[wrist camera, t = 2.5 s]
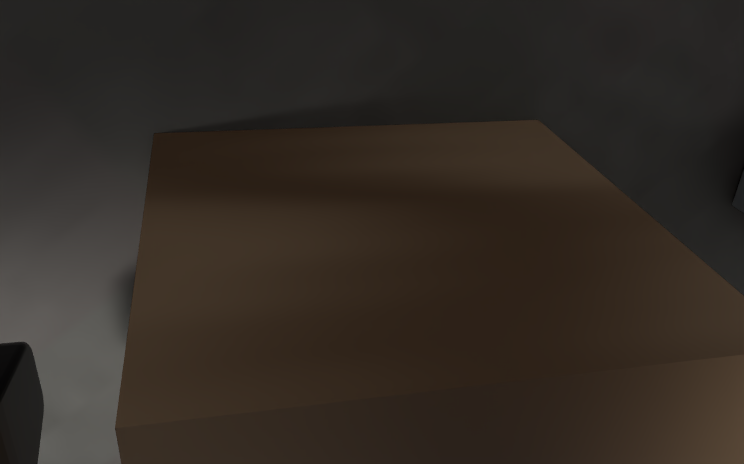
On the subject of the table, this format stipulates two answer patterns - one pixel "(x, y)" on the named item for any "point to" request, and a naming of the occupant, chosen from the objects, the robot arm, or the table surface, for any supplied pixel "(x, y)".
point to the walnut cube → (418, 307)
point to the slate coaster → (739, 196)
